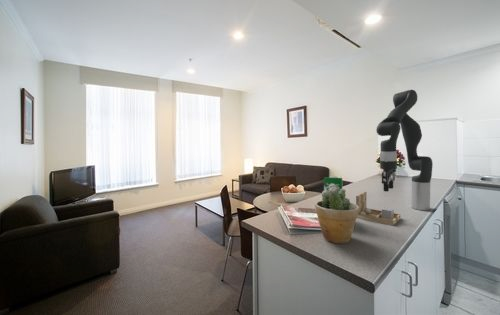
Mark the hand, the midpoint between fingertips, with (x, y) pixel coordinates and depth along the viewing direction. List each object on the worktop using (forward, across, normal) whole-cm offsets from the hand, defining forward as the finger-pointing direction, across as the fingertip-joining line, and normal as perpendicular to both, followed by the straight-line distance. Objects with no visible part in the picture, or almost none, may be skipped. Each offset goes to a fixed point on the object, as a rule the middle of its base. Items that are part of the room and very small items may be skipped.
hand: (388, 189), depth 115 cm
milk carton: (+17, +18, -22) cm, 33 cm away
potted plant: (+17, +39, -11) cm, 44 cm away
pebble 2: (+15, -4, -12) cm, 19 cm away
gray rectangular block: (+17, 0, 0) cm, 17 cm away
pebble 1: (+15, +4, -12) cm, 19 cm away
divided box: (+17, 0, -5) cm, 18 cm away
